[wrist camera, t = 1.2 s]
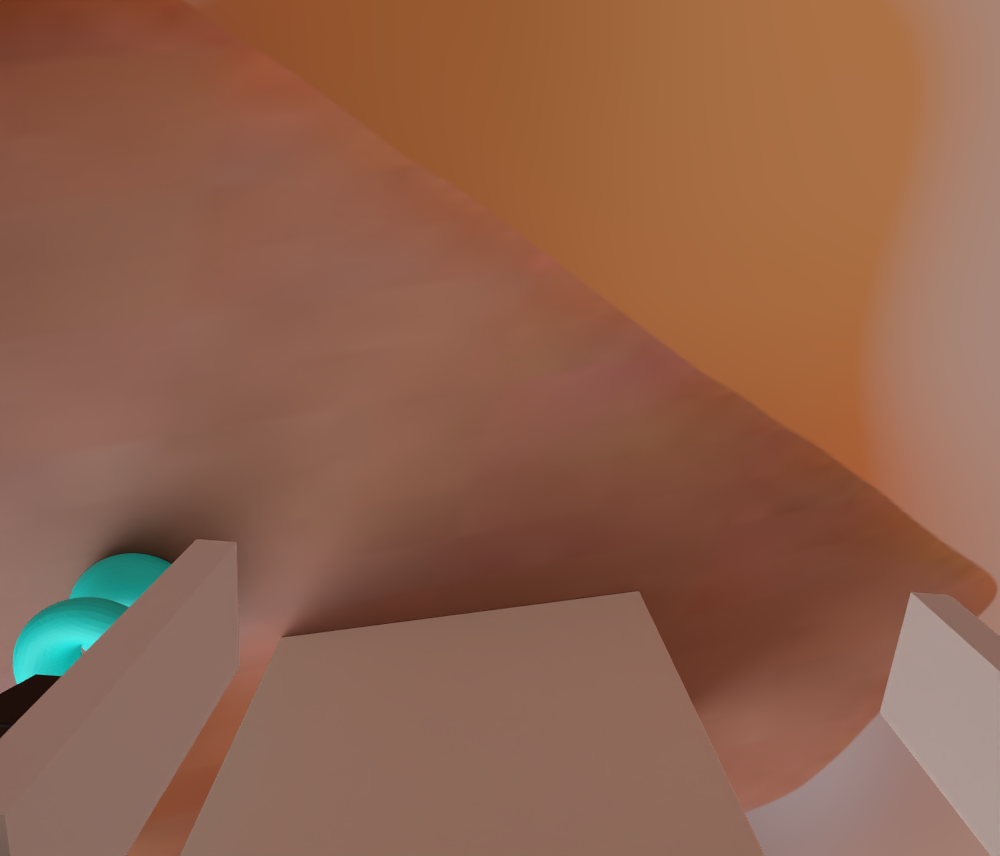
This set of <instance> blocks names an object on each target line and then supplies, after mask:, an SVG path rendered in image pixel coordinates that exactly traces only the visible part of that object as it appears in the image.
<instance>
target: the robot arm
mask: <svg viewBox="0 0 1000 856" xmlns="http://www.w3.org/2000/svg"><path fill="white" fill-rule="evenodd" d="M238 668H239V626H238V581H237V542H229V541H216V540H202V539H196V540H195V541H194V542H193V543H192V544H191V545H190V546H189V547H188V548H187V549H186V550H185V551H184V552H183V553H182V554H181V555H180V556H179V557H178V559H177V560H176V561H175V562H174V563H173V564H172V565H171V566H170V567H169V568H168V569H167V570H166V571H165V572H164V573H163V574H162V575H161V576H160V577H159V578H158V579H157V580H156V581H155V582H154V583H153V584H152V585H151V586H150V587H149V588H148V589H147V590H146V591H145V592H144V593H143V594H142V595H141V596H140V597H139V598H138V599H137V600H136V601H135V602H134V603H133V604H132V605H131V606H130V607H129V608H128V609H127V610H126V611H125V612H124V613H123V614H122V615H121V616H120V617H119V618H118V619H117V620H116V621H115V622H114V623H113V624H112V625H111V626H110V628H109V629H108V630H107V631H106V632H105V633H104V634H103V635H102V636H101V637H100V638H99V639H98V640H97V641H96V642H95V643H94V644H93V645H92V646H91V647H90V648H89V649H88V650H87V651H86V652H85V653H84V654H83V655H82V656H81V657H80V658H79V659H78V660H77V661H76V662H75V663H74V664H73V665H72V666H71V667H70V668H69V669H68V670H67V671H66V672H65V673H64V674H63V675H62V676H54V675H40V674H35V675H33V676H32V677H30V678H28V679H26V680H24V681H23V682H21V683H19V684H17V685H15V686H14V687H12V688H10V689H8V690H6V691H5V692H3V693H1V694H0V856H126V855H127V853H128V851H129V850H130V848H131V846H132V845H133V843H134V841H135V840H136V838H137V836H138V835H139V833H140V831H141V830H142V828H143V826H144V825H145V823H146V821H147V820H148V818H149V816H150V815H151V813H152V811H153V810H154V808H155V806H156V805H157V803H158V801H159V800H160V798H161V796H162V795H163V793H164V791H165V790H166V788H167V786H168V785H169V783H170V781H171V780H172V778H173V776H174V775H175V773H176V771H177V770H178V768H179V766H180V765H181V763H182V761H183V760H184V758H185V756H186V755H187V753H188V751H189V750H190V748H191V747H192V745H193V743H194V742H195V740H196V738H197V737H198V735H199V733H200V732H201V730H202V728H203V727H204V725H205V723H206V722H207V720H208V718H209V717H210V715H211V713H212V712H213V710H214V708H215V707H216V705H217V703H218V702H219V700H220V698H221V697H222V695H223V693H224V692H225V690H226V688H227V687H228V685H229V683H230V682H231V680H232V678H233V677H234V675H235V673H236V672H237V670H238ZM880 714H881V715H882V716H883V717H884V719H885V720H886V721H887V723H888V724H889V725H890V726H891V728H892V729H893V730H894V732H895V733H896V734H897V736H898V737H899V738H900V739H901V741H902V742H903V743H904V745H905V746H906V747H907V748H908V750H909V751H910V752H911V754H912V755H913V756H914V757H915V759H916V760H917V761H918V762H919V764H920V765H921V766H922V768H923V769H924V770H925V772H926V773H927V774H928V775H929V777H930V778H931V779H932V781H933V782H934V783H935V785H936V786H937V787H938V788H939V790H940V791H941V792H942V794H943V795H944V796H945V797H946V799H947V800H948V801H949V803H950V804H951V805H952V806H953V808H954V809H955V810H956V812H957V813H958V814H959V816H960V817H961V818H962V819H963V821H964V822H965V823H966V825H967V826H968V827H969V828H970V829H971V831H972V832H973V834H974V835H975V836H976V837H977V839H978V840H979V841H980V842H981V844H982V845H983V846H984V848H985V849H986V850H987V852H988V853H989V854H990V856H1000V636H999V635H998V634H996V633H995V632H994V631H993V630H992V629H990V628H989V627H988V626H986V625H985V624H984V623H983V622H982V621H981V620H979V619H978V618H977V617H976V616H975V615H973V614H972V613H971V612H970V611H969V610H967V609H966V608H965V607H964V606H962V605H961V604H960V603H959V602H958V601H956V600H955V599H954V598H953V597H952V596H950V595H943V594H930V593H916V592H911V594H910V598H909V602H908V605H907V609H906V613H905V617H904V621H903V625H902V629H901V632H900V636H899V640H898V644H897V648H896V652H895V656H894V659H893V663H892V667H891V671H890V675H889V679H888V682H887V686H886V690H885V694H884V698H883V702H882V706H881V709H880Z"/></svg>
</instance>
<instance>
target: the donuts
mask: <svg viewBox="0 0 1000 856" xmlns="http://www.w3.org/2000/svg"><path fill="white" fill-rule="evenodd" d="M171 565H172V564H171V563H169V562H167V561H165V560H163V559H160V558H158V557H155V556H151V555H147V554H139V553H125V554H118V555H114V556H111V557H108V558H105V559H103V560H101V561H99V562H97V563H95V564H94V565H92V566H91V567H90V568H89V569H87V570H86V571H85V572H84V573H83V574H82V575H81V577H80V578H79V579H78V581H77V582H76V584H75V586H74V587H73V589H72V592H71V595H70V599H68V600H64V601H61V602H58V603H55V604H53V605H51V606H49V607H47V608H45V609H44V610H42V611H41V612H39V613H38V614H37V615H36V616H34V617H33V618H32V619H31V620H30V621H29V622H28V623H27V625H26V626H25V627H24V628H23V630H22V632H21V633H20V635H19V637H18V639H17V642H16V644H15V648H14V653H13V672H14V676H15V680H16V683H17V684H19V683H21V682H23V681H24V680H26V679H28V678H30V677H32V676H33V675H35V674H40V675H54V676H62V675H63V674H64V673H65V672H66V671H67V670H68V669H69V668H70V667H71V666H72V665H73V664H74V663H75V662H76V661H77V660H78V659H79V658H80V657H81V656H82V652H81V647H82V648H83V649H84V650H85V651H87V650H88V649H89V648H90V647H91V646H92V645H93V644H94V643H95V642H96V641H97V640H98V639H99V638H100V637H101V636H102V635H103V634H104V633H105V632H106V631H107V630H108V629H109V628H110V626H111V625H112V624H113V623H114V622H115V621H116V620H117V619H118V618H119V617H120V616H121V615H122V614H123V613H124V612H125V611H126V610H127V609H128V608H129V607H130V606H131V605H132V604H133V603H134V602H135V601H136V600H137V599H138V598H139V597H140V596H141V595H142V594H143V593H144V592H145V591H146V590H147V589H148V588H149V587H150V586H151V585H152V584H153V583H154V582H155V581H156V580H157V579H158V578H159V577H160V576H161V575H162V574H163V573H164V572H165V571H166V570H167V569H168V568H169V567H170V566H171Z"/></svg>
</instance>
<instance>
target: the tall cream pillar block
mask: <svg viewBox="0 0 1000 856" xmlns="http://www.w3.org/2000/svg"><path fill="white" fill-rule="evenodd" d="M180 856H765V855H764V853H763V851H762V849H761V847H760V845H759V843H758V841H757V838H756V836H755V834H754V832H753V830H752V828H751V826H750V824H749V822H748V820H747V817H746V815H745V813H744V811H743V809H742V807H741V805H740V803H739V800H738V798H737V796H736V794H735V792H734V790H733V788H732V786H731V784H730V782H729V779H728V777H727V775H726V773H725V771H724V769H723V767H722V765H721V763H720V761H719V758H718V756H717V754H716V752H715V750H714V748H713V746H712V744H711V742H710V739H709V737H708V735H707V733H706V731H705V729H704V727H703V725H702V723H701V721H700V718H699V716H698V714H697V712H696V710H695V708H694V706H693V704H692V702H691V699H690V697H689V695H688V693H687V691H686V689H685V687H684V685H683V683H682V681H681V678H680V676H679V674H678V672H677V670H676V668H675V666H674V664H673V662H672V660H671V657H670V655H669V653H668V651H667V649H666V647H665V645H664V643H663V641H662V638H661V636H660V634H659V632H658V630H657V628H656V626H655V624H654V622H653V620H652V617H651V615H650V613H649V611H648V609H647V607H646V605H645V603H644V601H643V599H642V596H641V594H640V592H639V591H635V592H628V593H620V594H612V595H605V596H597V597H589V598H582V599H574V600H566V601H559V602H551V603H543V604H536V605H528V606H520V607H513V608H505V609H497V610H490V611H482V612H474V613H467V614H459V615H451V616H444V617H436V618H428V619H421V620H413V621H405V622H398V623H390V624H382V625H374V626H367V627H359V628H351V629H344V630H336V631H328V632H321V633H313V634H305V635H298V636H290V637H282V638H281V639H280V641H279V643H278V645H277V647H276V649H275V652H274V654H273V656H272V658H271V660H270V662H269V665H268V667H267V669H266V671H265V673H264V675H263V677H262V680H261V682H260V684H259V686H258V688H257V690H256V693H255V695H254V697H253V699H252V701H251V703H250V706H249V708H248V710H247V712H246V714H245V716H244V718H243V721H242V723H241V725H240V727H239V729H238V731H237V734H236V736H235V738H234V740H233V742H232V744H231V747H230V749H229V751H228V753H227V755H226V757H225V760H224V762H223V764H222V766H221V768H220V770H219V772H218V775H217V777H216V779H215V781H214V783H213V785H212V788H211V790H210V792H209V794H208V796H207V798H206V801H205V803H204V805H203V807H202V809H201V811H200V814H199V816H198V818H197V820H196V822H195V824H194V826H193V829H192V831H191V833H190V835H189V837H188V839H187V842H186V844H185V846H184V848H183V850H182V852H181V855H180Z"/></svg>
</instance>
